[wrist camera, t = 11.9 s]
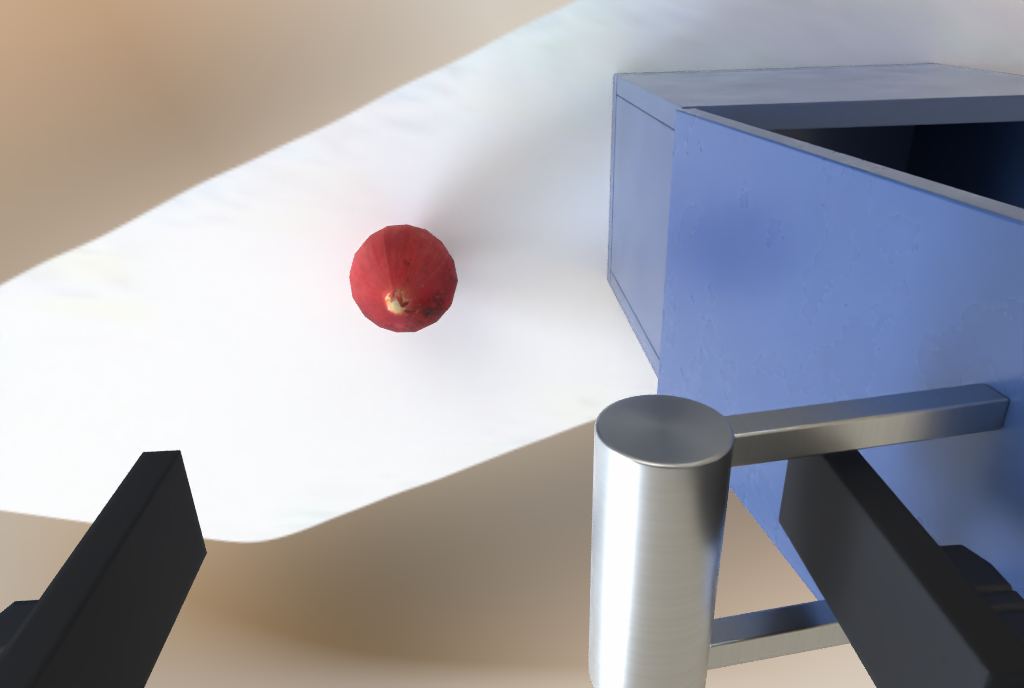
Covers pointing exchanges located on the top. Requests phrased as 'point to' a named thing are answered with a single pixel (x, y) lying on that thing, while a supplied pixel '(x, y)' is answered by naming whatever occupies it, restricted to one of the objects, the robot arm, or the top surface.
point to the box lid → (803, 388)
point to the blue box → (809, 118)
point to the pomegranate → (403, 278)
